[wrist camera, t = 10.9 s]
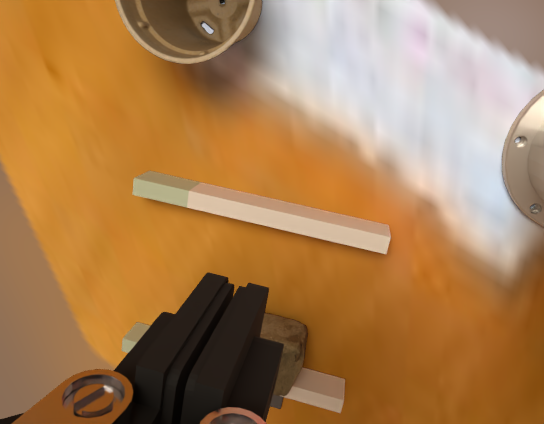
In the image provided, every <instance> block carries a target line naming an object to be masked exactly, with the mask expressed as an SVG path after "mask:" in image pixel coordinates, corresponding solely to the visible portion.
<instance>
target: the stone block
mask: <svg viewBox="0 0 544 424" xmlns="http://www.w3.org/2000/svg"><path fill="white" fill-rule="evenodd" d="M307 336H308V333H307V327H306V325H304V324H301V323H300V322H298V321H295V320H293V319H287V318H284V317H281V316H277V315H272V314H268V313H264V318H263V323H262V329H261V334H260V337H261V338H265V339H268V340H272V341H276V342H279V343H283V344H284V348H283V353H282V358H281V362H280V367H279V371H278V376H277V380H276V384H275V388H274V392H273V394H274V395H277V396H286V395H287V394H288V393H289V392H290V390H291V388H292V386H293V384H294V382H295V379H296V377H297V376H298V375H299V373H300V371H301V369H302V366H303V362H304V358H305V349H306V342H307Z"/></svg>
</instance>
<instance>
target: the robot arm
mask: <svg viewBox="0 0 544 424" xmlns="http://www.w3.org/2000/svg"><path fill="white" fill-rule="evenodd" d="M517 137H520V138H521V139H520V142H518V143H515V139H516V138H517ZM502 173H503V177H504V182H505V186H506V188H507V190H508V192H509V194H510V196H511V198H512V200H513V201H514V202H515V204H516V205H517V206H518V207H519V209H520V210H521V211H522V212H523V213H524V214H526V215H527V216H528V217H529V218H530V219H532V220H533V221H535V222H536V223H538V224H539V225H541V226H542V227H544V90H542V91H541V92H540V93H539V94H537V95H536V96H535V97H534V98H532V100H531V101H530V102H529V103H528V104H527V105H526V106H525V107H524V108H523V109H522V111H521V112H520V113H519V115H518V116H517V118H516V119H515V121H514V123H513V124H512V126H511V128H510V130H509V133H508V135H507V138H506V140H505V144H504V149H503V154H502ZM533 204H535V206H534V208H530V206H531V205H533ZM268 292H269V288H268V287H264V286H260V285H256V284H252V283H248V284H247V286H246V287H242V286H239V288H238V289H237V291H236V293H235V295H234V296H233V293H234V284H230V283H228V277H224V276H220V275H216V274H213V273H207V274H206V275H205V276H204V277H203V279H202V280H201V281H200V283H199V284H198V285H197V287H196V288H195V289H194V290H193V292H192V293H191V294H190V296H189V297H188V298H187V300H186V301H185V302H184V304H183V305H182V306H181V307H180V309H179V310H178V311H177V313H176V314H172V313H168V312H163V313H161V314H160V315H159V317H158V318H157V319H156V320H155V321H154V323H153V324H152V325H151V326H150V327H149V329H148V330H147V331H146V332H145V333H144V335H143V336H142V337H141V338H140V340H139V341H138V342H137V343H136V344H135V346H134V347H133V348H132V349H131V350H130V352H129V353H128V354H127V355H126V356H125V358H124V359H123V360H122V361H121V363H120V364H119V365H118V366H117V367H116V369H115V370H114V371H111V370H103V369H95V370H88V371H84V372H81V373H78V374H75V375H73V376H71V377H70V378H68V379H67V380H65V381H64V382H63V383H61V384H60V385H59V386H58V387H56V388H55V389H54V390H52V391H51V392H50V393H49V394H48V395H46V396H45V397H44V398H43V399H41V400H40V401H39V402H38V403H36V404H35V405H34V406H33V407H31V408H30V409H29V410H28V411H26V412H25V413H22V414H19V415H15V416H11V417H8V418H4V419H0V424H266V423H265V422H266V419H267V415H268V411H269V408H270V404H271V400H272V396H273V392H274V388H275V384H276V380H277V376H278V371H279V367H280V362H281V358H282V353H283V348H284V344H283V343H279V342H276V341H272V340H268V339H265V338H261V337H260V334H261V329H262V323H263V318H264V313H265V308H266V303H267V298H268Z"/></svg>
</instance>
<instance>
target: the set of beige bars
mask: <svg viewBox="0 0 544 424" xmlns="http://www.w3.org/2000/svg"><path fill="white" fill-rule="evenodd" d="M133 195H136V196H140V197H145V198H149V199H153V200H157V201H162V202H166V203H170V204H174V205H179V206H183V207H187V208H191V209H196V210H200V211H204V212H208V213H213V214H217V215H221V216H225V217H230V218H234V219H238V220H242V221H247V222H251V223H255V224H259V225H264V226H268V227H272V228H276V229H281V230H285V231H289V232H293V233H298V234H302V235H306V236H310V237H315V238H319V239H323V240H327V241H332V242H336V243H340V244H344V245H349V246H353V247H357V248H361V249H366V250H370V251H374V252H378V253H383V254H386V253H387V249H388V246H389V242H390V239H391V235H390V229H389V225H387V224H382V223H378V222H373V221H369V220H365V219H360V218H356V217H351V216H347V215H343V214H338V213H334V212H329V211H325V210H321V209H316V208H312V207H307V206H303V205H299V204H294V203H290V202H285V201H281V200H277V199H272V198H268V197H263V196H259V195H254V194H250V193H246V192H241V191H237V190H232V189H228V188H224V187H219V186H215V185H210V184H206V183H202V182H197V181H193V180H188V179H184V178H180V177H175V176H171V175H166V174H162V173H158V172H153V171H148V172H146V173H144V174H142V175H139V176H137V177H135V178H134V182H133ZM149 327H150V325H146V324H143V323H139V322H137V323H136V324H135V325H134V326H133V327H132V329H131V330H130V331H129V332H128V333H127V334H126V335H125V336H124V337H123V341H122V351H124V352H127V353H129V352H130V350H131V349H132V348H133V347H134V346H135V344H136V343H137V342H138V341H139V340H140V338H141V337H142V336H143V335H144V333H145V332H146V331H147V330H148V329H149ZM344 392H345V379H343V378H339V377H336V376H332V375H328V374H325V373H321V372H318V371H314V370H310V369H307V368H303V367H302V369H301V371H300V373H299V375H298V376H297V377H296V379H295V382H294V384H293V386H292V388H291V390H290V392H289V393H288V394H287V395H286V396H282V397H285V398H289V399H292V400H296V401H299V402H303V403H306V404H310V405H313V406H317V407H321V408H324V409H328V410H331V411H335V412H338V413H341V409H342V406H343V402H344Z"/></svg>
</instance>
